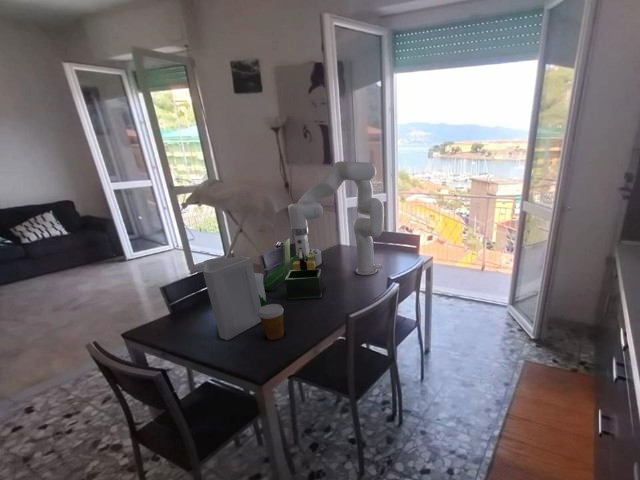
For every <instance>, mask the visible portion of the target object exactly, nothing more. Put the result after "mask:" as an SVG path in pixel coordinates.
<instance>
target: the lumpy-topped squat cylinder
mask: <svg viewBox="0 0 640 480" xmlns="http://www.w3.org/2000/svg"><path fill="white" fill-rule="evenodd" d="M309 250H310V251H309V254H311V255H313V257H307V259H308V260H309V261H314V260H315V266H316V267H319V266H320V265H321V264H322V263H323V262H322V261H323V260H322V252H321V250H320V249H317V248H309Z"/></svg>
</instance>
